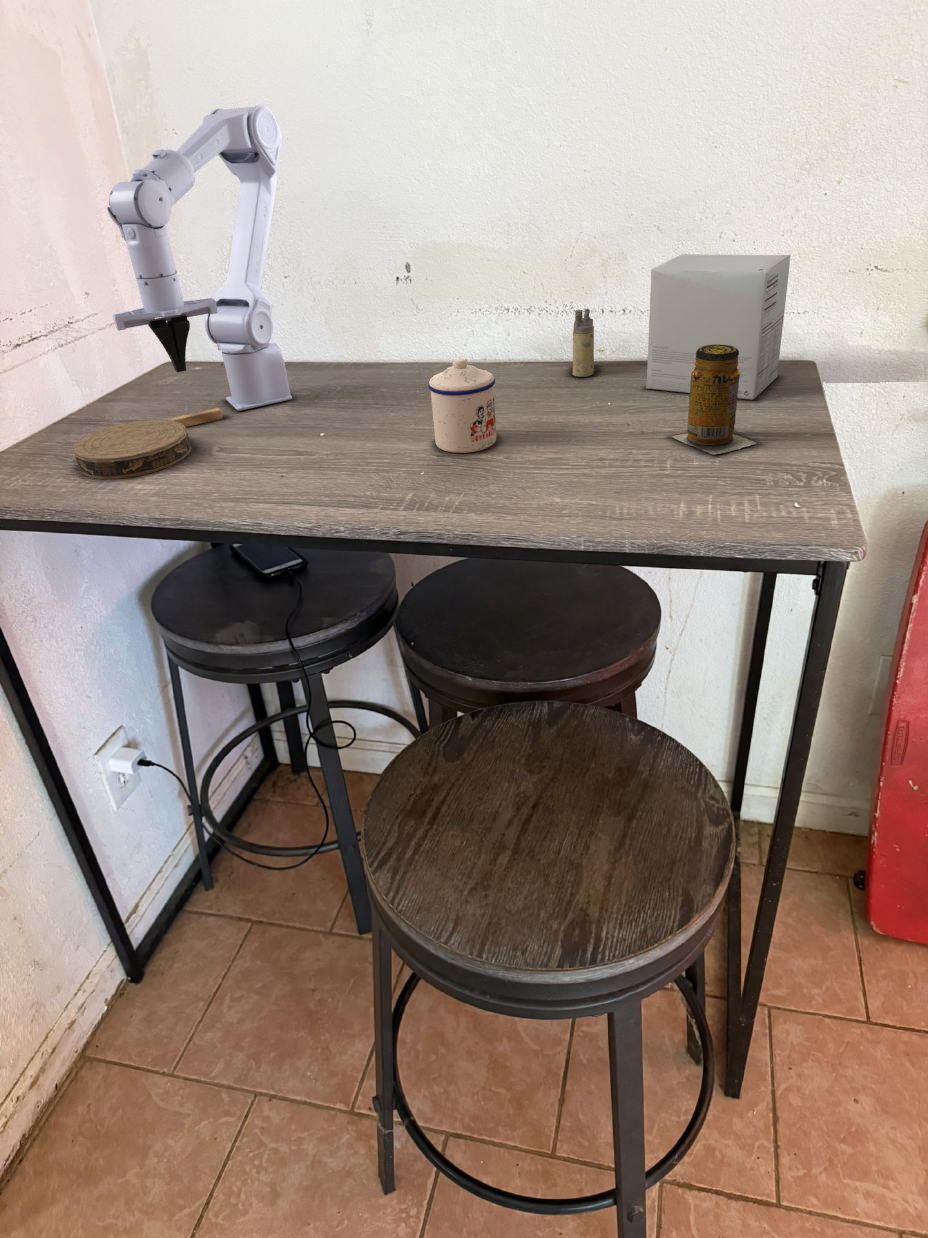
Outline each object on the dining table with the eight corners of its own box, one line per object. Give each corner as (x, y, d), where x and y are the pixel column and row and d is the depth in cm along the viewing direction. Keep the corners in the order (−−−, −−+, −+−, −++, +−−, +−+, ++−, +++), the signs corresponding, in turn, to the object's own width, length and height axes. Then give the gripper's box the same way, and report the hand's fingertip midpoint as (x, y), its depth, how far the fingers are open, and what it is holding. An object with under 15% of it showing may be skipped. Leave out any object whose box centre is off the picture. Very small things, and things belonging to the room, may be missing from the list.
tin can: (98, 488, 114) (92, 467, 113) (65, 459, 125) (59, 439, 124) (208, 455, 122) (203, 435, 121) (168, 430, 133) (163, 412, 132)
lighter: (574, 365, 147) (573, 305, 141) (596, 364, 146) (596, 305, 141) (572, 377, 141) (571, 316, 136) (595, 377, 140) (595, 315, 135)
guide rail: (220, 416, 137) (218, 407, 137) (222, 418, 136) (220, 409, 136) (106, 442, 131) (103, 432, 130) (108, 444, 130) (105, 435, 129)
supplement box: (779, 376, 133) (794, 253, 124) (754, 401, 124) (769, 271, 115) (674, 366, 142) (681, 251, 132) (643, 390, 133) (648, 267, 123)
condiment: (713, 426, 117) (721, 338, 110) (757, 444, 110) (767, 351, 104) (671, 438, 114) (676, 348, 108) (712, 457, 108) (720, 362, 101)
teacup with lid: (482, 457, 114) (476, 370, 107) (422, 451, 117) (414, 367, 111) (515, 427, 123) (512, 346, 116) (459, 422, 126) (453, 343, 120)
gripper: (108, 287, 115) (136, 385, 122) (213, 270, 120) (234, 366, 127) (100, 280, 120) (128, 375, 127) (201, 264, 125) (222, 356, 133)
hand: (180, 370), depth 128 cm, fingers closed
